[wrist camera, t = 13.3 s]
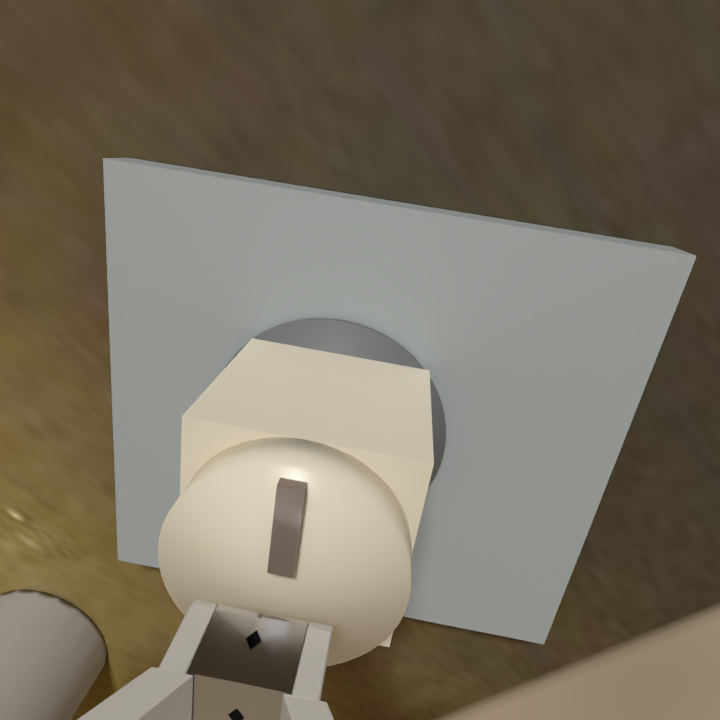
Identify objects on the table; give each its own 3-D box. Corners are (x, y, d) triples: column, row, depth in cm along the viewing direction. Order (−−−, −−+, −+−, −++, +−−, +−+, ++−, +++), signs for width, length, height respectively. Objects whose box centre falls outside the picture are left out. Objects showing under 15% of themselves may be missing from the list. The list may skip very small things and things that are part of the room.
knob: (397, 516, 20) (386, 700, 13) (240, 485, 20) (151, 651, 13) (429, 370, 17) (435, 504, 11) (252, 338, 17) (151, 449, 11)
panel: (672, 246, 17) (817, 300, 11) (535, 612, 23) (578, 780, 17) (129, 157, 18) (-26, 160, 11) (136, 534, 24) (38, 668, 17)
